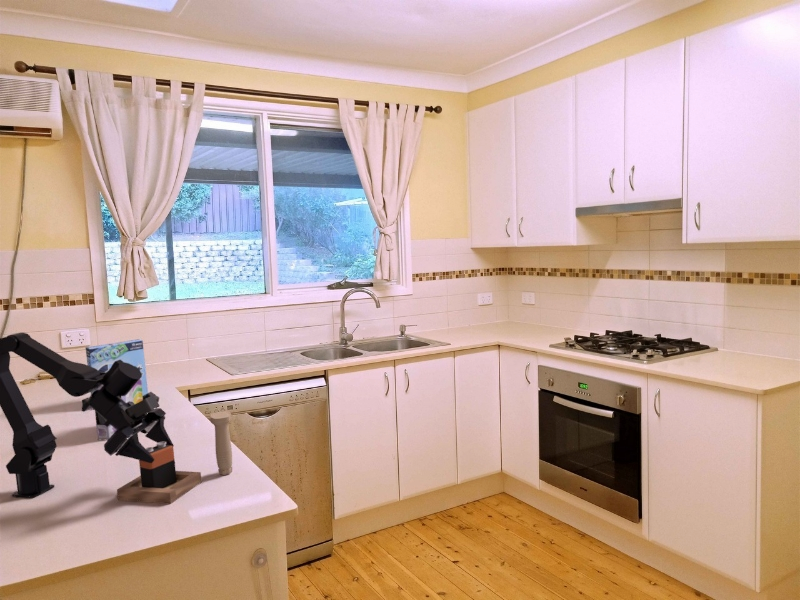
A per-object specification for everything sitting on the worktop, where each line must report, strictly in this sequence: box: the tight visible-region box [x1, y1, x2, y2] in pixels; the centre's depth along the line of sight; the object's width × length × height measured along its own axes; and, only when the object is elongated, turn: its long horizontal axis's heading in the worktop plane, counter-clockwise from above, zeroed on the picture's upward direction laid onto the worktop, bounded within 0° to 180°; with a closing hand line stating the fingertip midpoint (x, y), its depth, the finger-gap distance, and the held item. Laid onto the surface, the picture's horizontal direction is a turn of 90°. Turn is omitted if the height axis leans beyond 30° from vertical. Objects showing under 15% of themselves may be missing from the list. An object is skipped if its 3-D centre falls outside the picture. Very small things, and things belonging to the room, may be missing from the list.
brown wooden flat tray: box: [116, 470, 202, 504], centre depth 142 cm, size 14×12×2 cm
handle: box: [210, 410, 233, 476], centre depth 150 cm, size 5×6×15 cm
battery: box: [138, 442, 177, 488], centre depth 141 cm, size 4×7×10 cm, turn 149°
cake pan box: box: [93, 371, 143, 440], centre depth 191 cm, size 19×5×18 cm, turn 168°
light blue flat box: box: [85, 339, 149, 396], centre depth 227 cm, size 20×5×23 cm, turn 134°
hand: (163, 454), depth 141 cm, fingers open, 9 cm apart
